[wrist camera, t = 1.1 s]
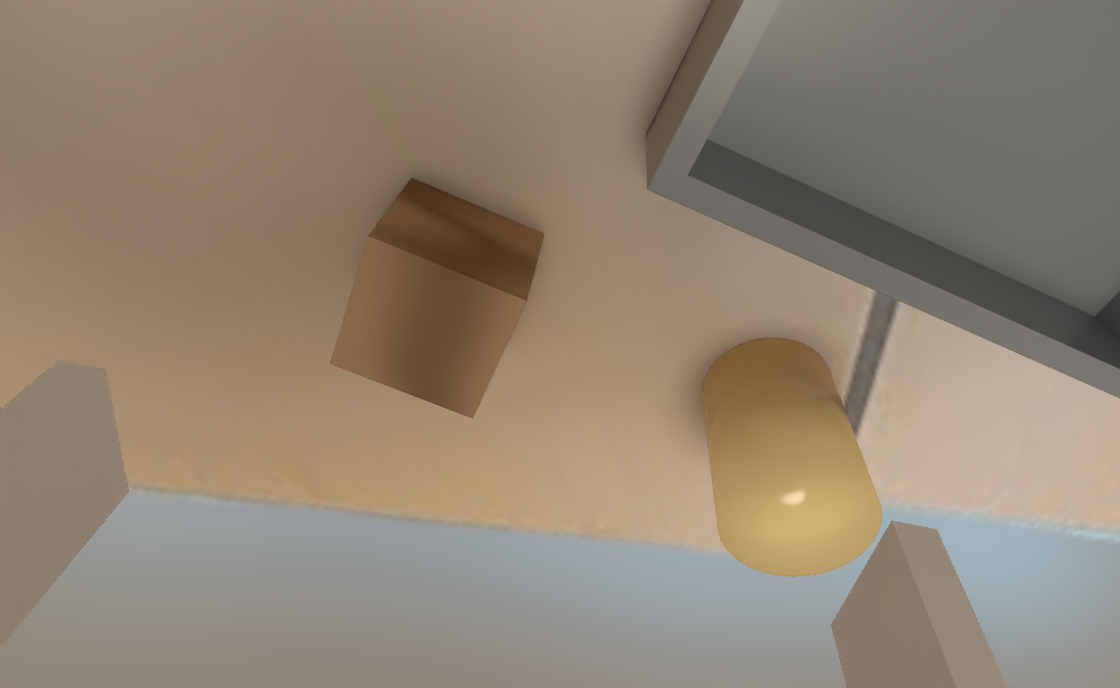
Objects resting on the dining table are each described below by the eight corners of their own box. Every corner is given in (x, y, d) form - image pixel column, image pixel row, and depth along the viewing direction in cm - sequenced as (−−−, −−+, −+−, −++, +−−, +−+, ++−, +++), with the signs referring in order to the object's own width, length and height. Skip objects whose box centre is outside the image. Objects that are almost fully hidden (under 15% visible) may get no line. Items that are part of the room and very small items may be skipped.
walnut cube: (375, 291, 29) (329, 363, 25) (412, 177, 26) (368, 235, 22) (496, 340, 29) (472, 418, 25) (544, 233, 27) (526, 300, 23)
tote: (645, 134, 25) (647, 189, 20) (906, -397, 17) (990, -482, 13) (1089, 335, 27) (1172, 421, 23) (1477, -61, 20) (1702, -42, 16)
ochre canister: (679, 414, 30) (689, 545, 25) (742, 318, 28) (770, 438, 22) (787, 457, 31) (822, 594, 25) (859, 367, 29) (916, 497, 23)
